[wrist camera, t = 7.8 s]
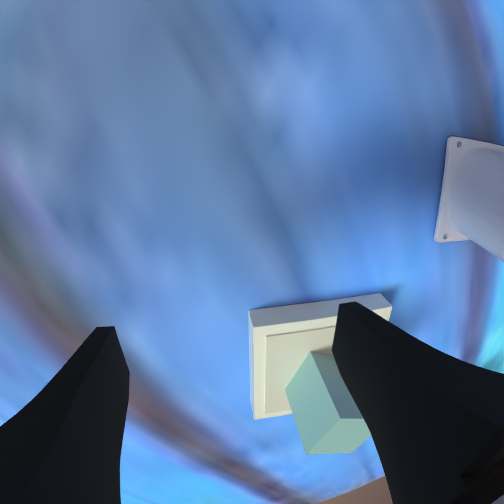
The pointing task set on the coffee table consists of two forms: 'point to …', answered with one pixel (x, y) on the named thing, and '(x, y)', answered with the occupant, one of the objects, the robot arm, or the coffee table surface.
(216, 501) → the coffee table surface
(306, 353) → the tray
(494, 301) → the coffee table surface
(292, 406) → the block
